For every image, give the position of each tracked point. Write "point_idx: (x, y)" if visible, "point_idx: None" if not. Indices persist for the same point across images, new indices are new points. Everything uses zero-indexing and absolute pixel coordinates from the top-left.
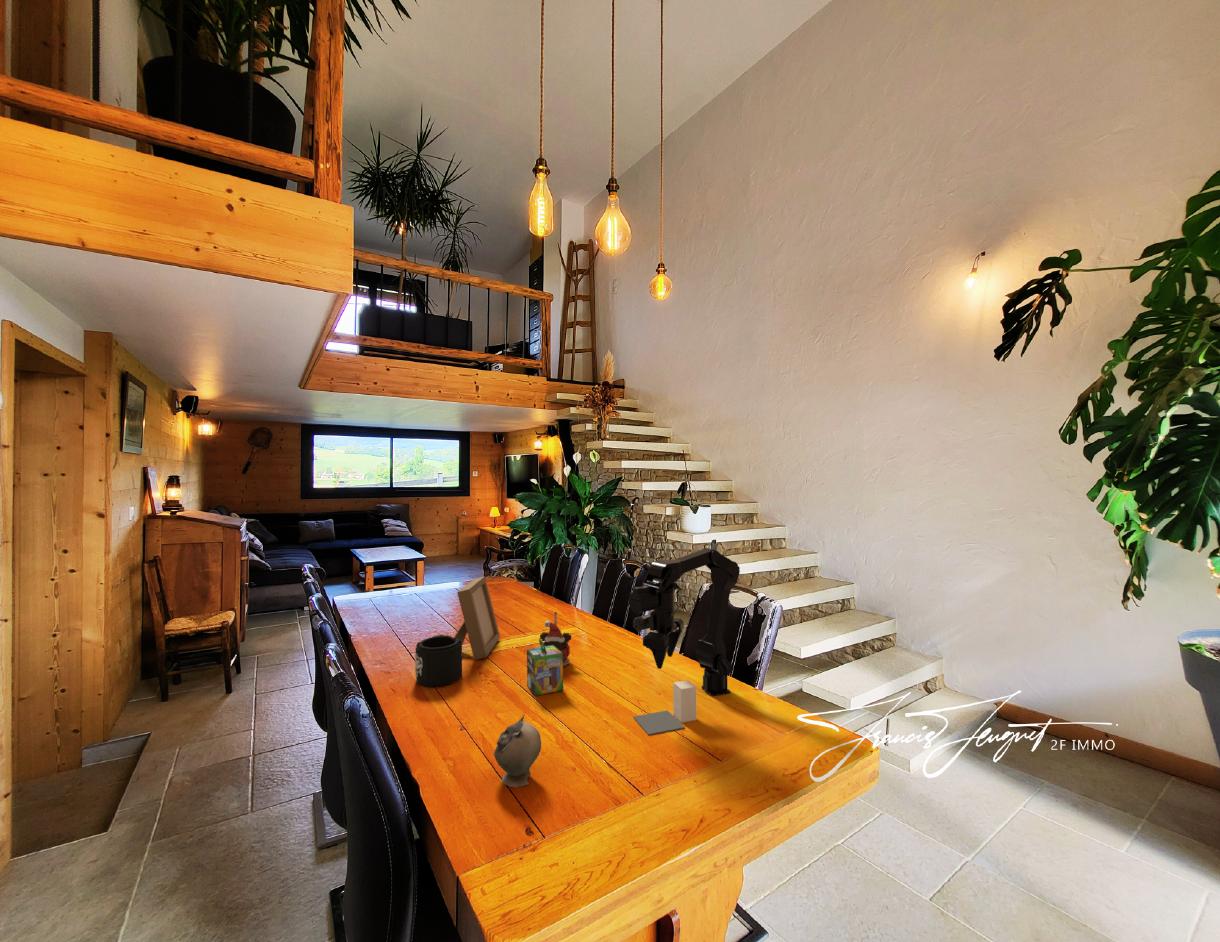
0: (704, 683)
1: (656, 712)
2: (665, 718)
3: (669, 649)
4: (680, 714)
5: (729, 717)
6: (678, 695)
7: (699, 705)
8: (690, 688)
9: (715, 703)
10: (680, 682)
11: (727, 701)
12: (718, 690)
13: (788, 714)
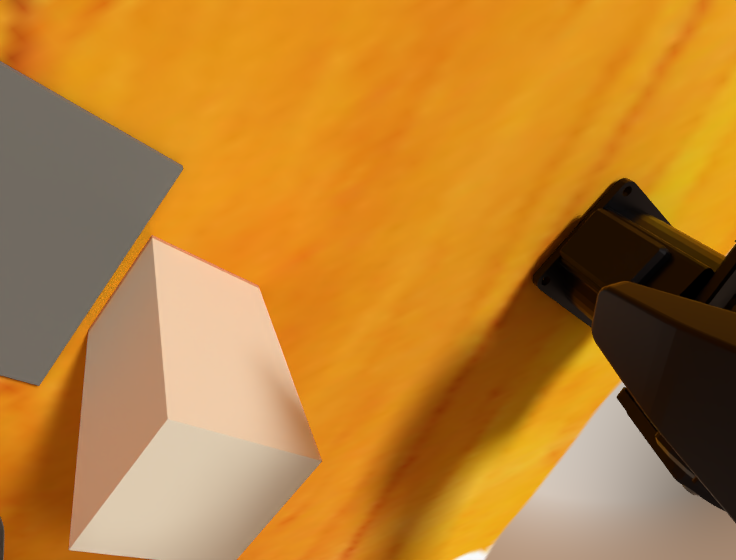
0: (609, 242)
1: (77, 111)
2: (39, 229)
3: (702, 392)
4: (90, 356)
5: (335, 445)
6: (105, 431)
7: (391, 283)
8: (171, 553)
9: (453, 330)
10: (224, 453)
11: (497, 356)
12: (574, 303)
13: (468, 536)
